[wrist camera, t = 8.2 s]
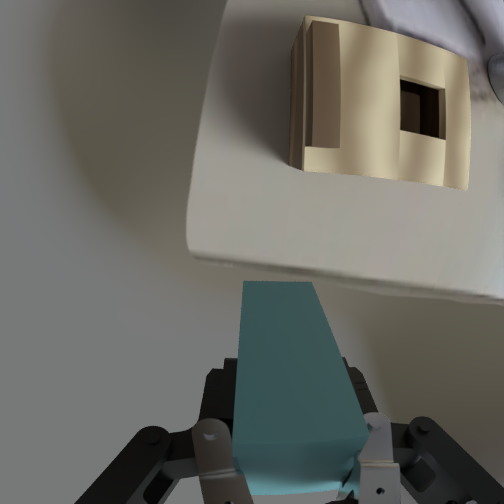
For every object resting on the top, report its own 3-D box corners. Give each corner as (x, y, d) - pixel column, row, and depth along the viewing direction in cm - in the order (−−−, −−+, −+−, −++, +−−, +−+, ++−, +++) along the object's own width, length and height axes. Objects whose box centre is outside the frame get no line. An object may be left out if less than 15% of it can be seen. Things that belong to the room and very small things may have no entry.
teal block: (311, 281, 17) (370, 435, 7) (304, 337, 19) (339, 488, 8) (243, 280, 17) (231, 443, 7) (242, 337, 19) (235, 494, 8)
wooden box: (419, 75, 28) (459, 61, 20) (418, 178, 33) (459, 188, 24) (291, 51, 28) (302, 21, 20) (288, 165, 33) (301, 170, 24)
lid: (460, 61, 19) (484, 53, 16) (460, 188, 24) (485, 196, 20) (303, 20, 19) (311, 0, 15) (301, 170, 24) (310, 174, 20)
